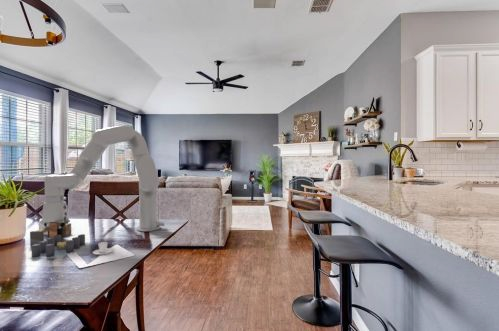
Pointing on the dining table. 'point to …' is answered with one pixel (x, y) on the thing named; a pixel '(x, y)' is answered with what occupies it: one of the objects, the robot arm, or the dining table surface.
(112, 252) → the teacup and saucer
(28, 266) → the dining table surface
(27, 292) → the dining table surface
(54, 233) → the wooden toy mallet
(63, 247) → the brass nut
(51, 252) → the board
